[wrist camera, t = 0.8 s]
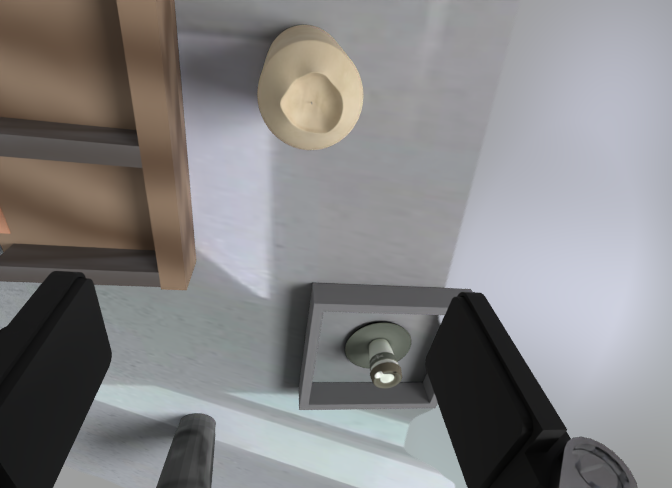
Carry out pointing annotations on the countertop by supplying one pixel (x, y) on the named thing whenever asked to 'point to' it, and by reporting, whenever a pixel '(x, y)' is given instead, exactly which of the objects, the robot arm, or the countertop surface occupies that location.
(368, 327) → the coffee cup
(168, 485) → the beverage cup
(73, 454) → the countertop surface
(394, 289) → the grey shallow square tray
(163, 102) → the wooden divided tray
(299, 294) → the countertop surface
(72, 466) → the countertop surface
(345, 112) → the candle
